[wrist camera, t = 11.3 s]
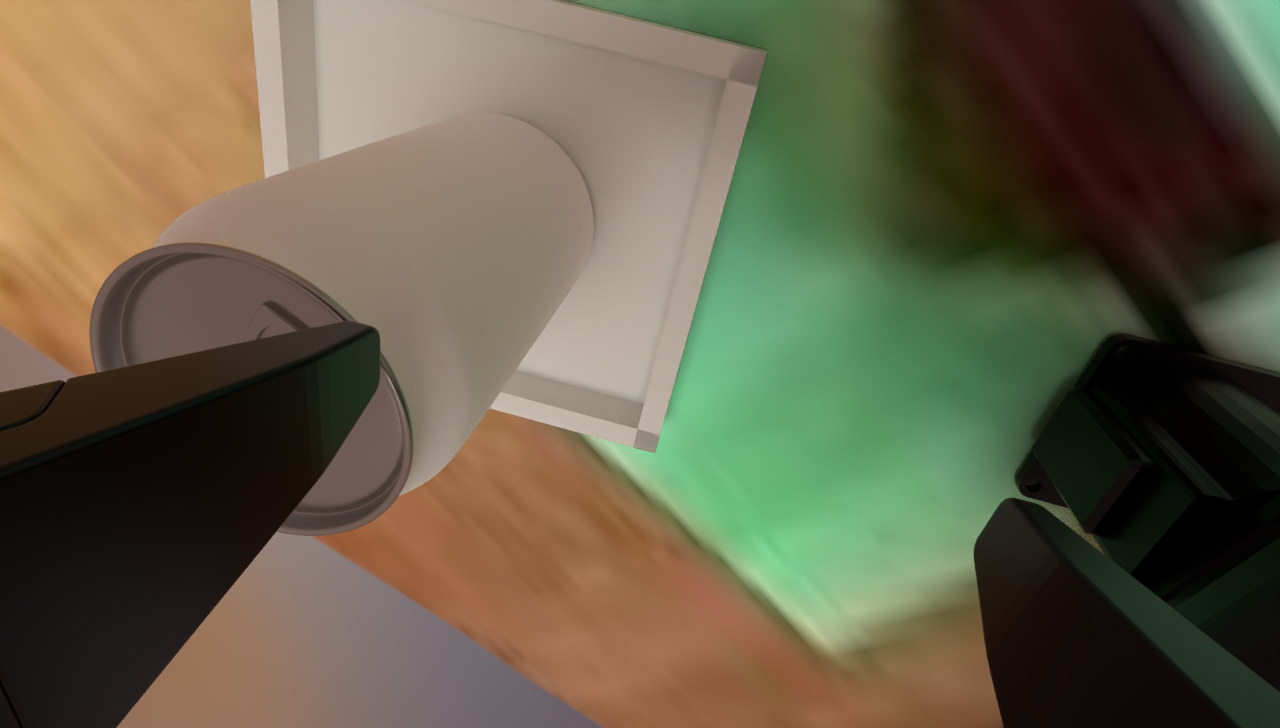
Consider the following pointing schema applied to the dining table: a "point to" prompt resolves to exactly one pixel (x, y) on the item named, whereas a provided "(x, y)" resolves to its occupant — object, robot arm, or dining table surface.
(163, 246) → the can
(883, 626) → the dining table surface
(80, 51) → the dining table surface
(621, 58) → the tray
